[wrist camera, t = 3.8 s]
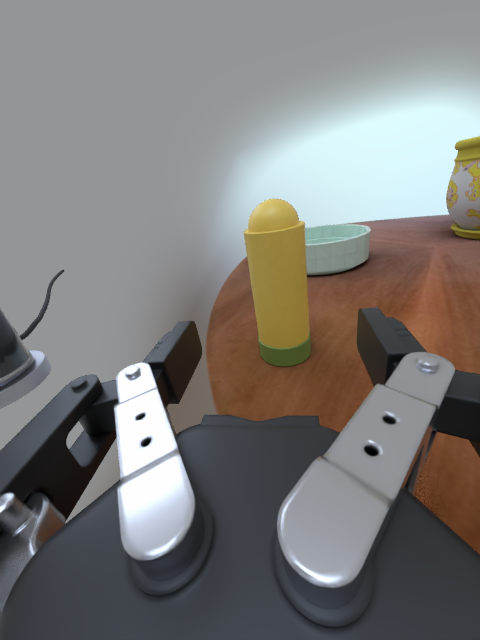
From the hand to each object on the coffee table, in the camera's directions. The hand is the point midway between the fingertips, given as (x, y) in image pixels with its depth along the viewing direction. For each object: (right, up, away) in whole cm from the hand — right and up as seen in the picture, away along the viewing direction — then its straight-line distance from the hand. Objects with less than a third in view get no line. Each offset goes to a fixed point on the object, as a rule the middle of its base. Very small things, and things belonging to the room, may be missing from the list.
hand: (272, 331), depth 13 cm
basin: (+14, +12, +37) cm, 41 cm away
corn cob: (+3, -3, +13) cm, 13 cm away
